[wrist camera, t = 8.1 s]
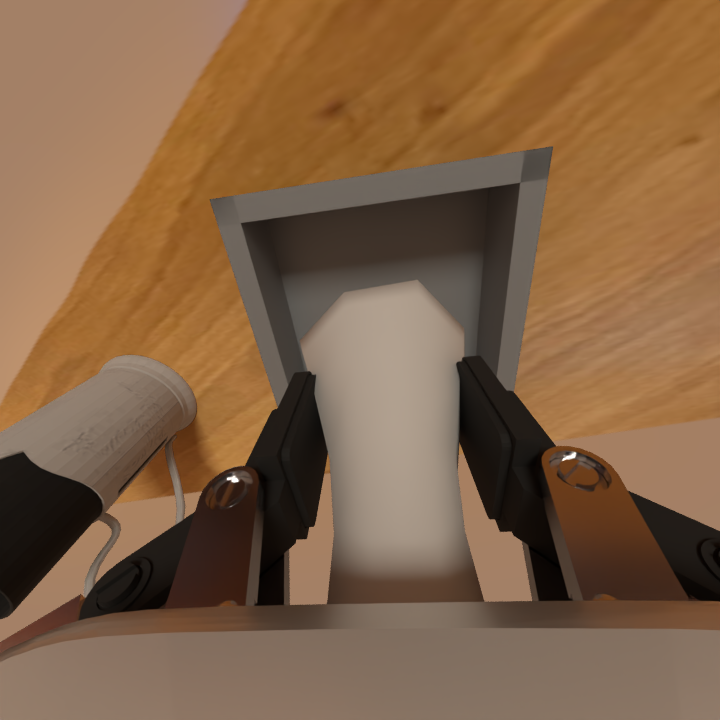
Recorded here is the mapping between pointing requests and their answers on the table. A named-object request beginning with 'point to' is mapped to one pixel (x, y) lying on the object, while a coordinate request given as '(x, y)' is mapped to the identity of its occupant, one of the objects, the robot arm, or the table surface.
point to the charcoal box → (392, 251)
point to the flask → (392, 446)
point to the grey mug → (83, 465)
